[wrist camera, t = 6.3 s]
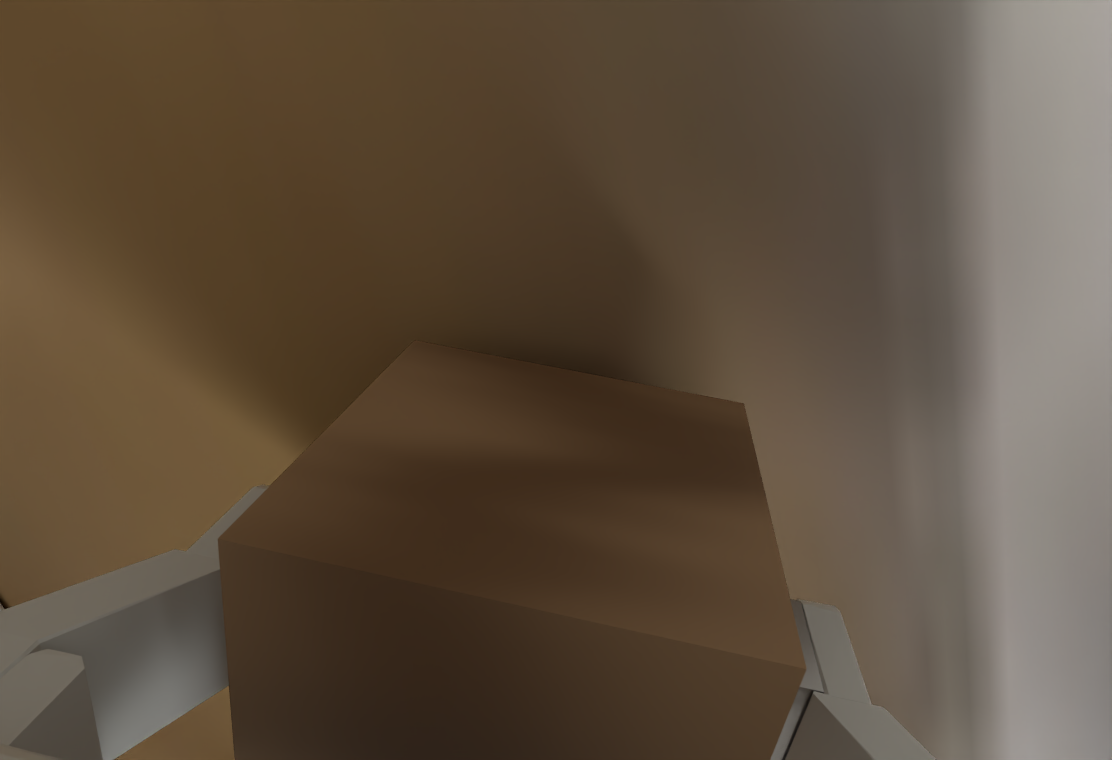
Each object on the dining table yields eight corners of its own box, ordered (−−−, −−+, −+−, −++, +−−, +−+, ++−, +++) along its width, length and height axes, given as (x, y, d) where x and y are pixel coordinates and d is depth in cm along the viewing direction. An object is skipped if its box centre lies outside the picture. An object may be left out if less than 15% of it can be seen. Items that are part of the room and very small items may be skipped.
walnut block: (744, 403, 10) (806, 669, 5) (671, 654, 12) (674, 999, 8) (414, 340, 10) (218, 538, 6) (398, 594, 12) (244, 886, 8)
